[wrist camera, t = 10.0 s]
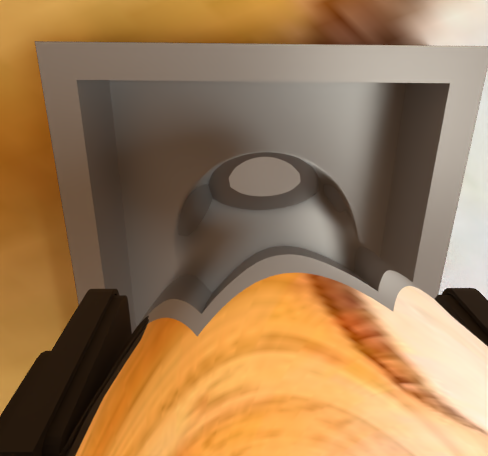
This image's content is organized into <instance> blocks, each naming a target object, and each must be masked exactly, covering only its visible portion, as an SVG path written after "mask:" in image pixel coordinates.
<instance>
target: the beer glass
mask: <svg viewBox="0 0 488 456" xmlns="http://www.w3.org/2000/svg"><path fill="white" fill-rule="evenodd" d="M174 253H175V261H176V269H175V271H174V273H173V274H172V276H171V277H170V279H169V281H168V282H167V284H166V285H165V287H164V288H163V290H162V291H161V292H160V294H159V295H158V297H157V298H156V300H155V301H154V302H153V304H152V305H151V307H150V308H149V309H148V311H147V312H146V314H145V315H144V317H143V318H142V320H141V321H140V323H139V324H138V326H137V327H136V329H135V330H134V332H133V333H132V335H131V336H130V338H129V339H128V340H127V342H126V343H125V345H124V346H123V348H122V349H121V351H120V352H119V354H118V355H117V357H116V358H115V360H114V361H113V363H112V365H111V366H110V368H109V370H108V371H107V373H106V375H105V376H104V378H103V380H102V382H101V383H100V385H99V387H98V388H97V390H96V392H95V393H94V395H93V397H92V399H91V400H90V402H89V404H88V405H87V407H86V409H85V411H84V412H83V414H82V416H81V417H80V419H79V421H78V423H77V424H76V426H75V428H74V429H73V431H72V433H71V435H70V436H69V438H68V440H67V441H66V443H65V445H64V447H63V449H62V451H61V453H60V455H59V456H488V344H487V343H485V342H484V341H483V340H482V339H481V338H480V337H479V336H477V335H476V334H475V333H474V332H473V331H472V330H471V329H470V328H468V327H467V326H466V325H465V324H464V323H463V322H462V321H461V320H459V319H458V318H457V317H456V316H455V315H454V314H452V313H451V312H450V311H449V310H447V309H446V308H445V307H444V306H442V305H441V304H440V303H438V302H437V301H436V300H435V299H433V298H432V297H431V296H429V295H428V294H427V293H426V292H424V291H423V290H422V289H421V288H419V287H418V286H417V285H415V284H414V283H413V282H412V281H410V280H409V279H408V278H406V277H405V276H404V275H403V274H401V273H400V272H399V271H397V270H396V269H395V268H393V267H392V266H391V265H389V264H388V263H387V262H385V261H384V260H383V259H381V258H380V257H379V256H377V255H376V254H375V253H373V252H372V251H371V250H370V249H369V248H367V247H366V246H365V245H364V244H363V243H361V242H360V240H359V238H358V232H357V227H356V223H355V219H354V215H353V212H352V209H351V207H350V204H349V202H348V200H347V198H346V196H345V194H344V192H343V191H342V189H341V187H340V186H339V185H338V183H337V182H336V181H335V180H334V179H333V178H332V177H331V176H330V175H329V174H328V173H327V172H326V171H325V170H323V169H322V168H321V167H319V166H318V165H316V164H314V163H312V162H311V161H309V160H306V159H304V158H302V157H299V156H296V155H292V154H289V153H283V152H276V151H257V152H250V153H245V154H241V155H237V156H234V157H232V158H229V159H227V160H225V161H223V162H221V163H219V164H217V165H215V166H214V167H212V168H211V169H209V170H208V171H207V172H205V173H204V174H203V175H202V176H201V177H200V178H199V179H198V180H197V181H196V182H195V183H194V184H193V185H192V186H191V188H190V189H189V190H188V192H187V193H186V195H185V197H184V199H183V201H182V203H181V205H180V207H179V210H178V213H177V217H176V221H175V227H174Z"/></svg>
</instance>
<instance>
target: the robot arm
mask: <svg viewBox="0 0 488 456" xmlns="http://www.w3.org/2000/svg"><path fill="white" fill-rule="evenodd" d="M435 300H436V301H437V302H438V303H440V304H441V305H442V306H444V307H445V308H446V309H447V310H449V311H450V312H451V313H452V314H454V315H455V316H456V317H457V318H458V319H459V320H461V321H462V322H463V323H464V324H465V325H466V326H467V327H468V328H470V329H471V330H472V331H473V332H474V333H475V334H476V335H477V336H479V337H480V338H481V339H482V340H483V341H484V342H485V343H487V344H488V300H487V299H486V298H485V297H484V296H483V295H482V294H481V293H480V292H479V291H478V290H476V289H474V288H447V289H445V290H444V291H443V293H442V295H437V296H436V298H435ZM131 335H132V330H131V321H130V312H129V304H128V298H127V296H126V295H119V292H118V290H117V289H89V290H88V291H87V293H86V294H85V296H84V298H83V299H82V301H81V303H80V304H79V306H78V308H77V309H76V311H75V313H74V314H73V316H72V318H71V319H70V321H69V323H68V324H67V326H66V328H65V329H64V331H63V332H62V334H61V336H60V337H59V339H58V341H57V342H56V344H55V346H54V347H53V349H52V351H45V352H43V353H41V354H40V355H39V357H38V358H37V359H36V361H35V362H34V364H33V365H32V367H31V369H30V370H29V372H28V373H27V375H26V376H25V378H24V380H23V381H22V383H21V384H20V386H19V387H18V389H17V391H16V392H15V394H14V395H13V397H12V398H11V400H10V402H9V403H8V405H7V406H6V408H5V409H4V411H3V413H2V414H1V416H0V456H59V455H60V453H61V451H62V449H63V447H64V445H65V443H66V441H67V440H68V438H69V436H70V435H71V433H72V431H73V429H74V428H75V426H76V424H77V423H78V421H79V419H80V417H81V416H82V414H83V412H84V411H85V409H86V407H87V405H88V404H89V402H90V400H91V399H92V397H93V395H94V393H95V392H96V390H97V388H98V387H99V385H100V383H101V382H102V380H103V378H104V376H105V375H106V373H107V371H108V370H109V368H110V366H111V365H112V363H113V361H114V360H115V358H116V357H117V355H118V354H119V352H120V351H121V349H122V348H123V346H124V345H125V343H126V342H127V340H128V339H129V338H130V336H131Z"/></svg>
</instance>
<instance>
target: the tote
mask: <svg viewBox="0 0 488 456" xmlns="http://www.w3.org/2000/svg"><path fill="white" fill-rule="evenodd" d="M35 45H36V51H37V57H38V63H39V69H40V75H41V81H42V87H43V93H44V99H45V105H46V111H47V117H48V123H49V129H50V135H51V141H52V147H53V153H54V159H55V165H56V171H57V177H58V183H59V189H60V195H61V201H62V207H63V213H64V219H65V225H66V231H67V237H68V243H69V249H70V255H71V261H72V267H73V273H74V279H75V285H76V291H77V297H78V303H79V304H80V303H81V301H82V299H83V298H84V296H85V294H86V293H87V291H88V290H89V289H117V290H118V292H119V295H126V296H127V298H128V304H129V312H130V321H131V330H132V333H133V332H134V330H135V329H136V327H137V326H138V324H139V323H140V321H141V320H142V318H143V317H144V315H145V314H146V312H147V311H148V309H149V308H150V307H151V305H152V304H153V302H154V301H155V300H156V298H157V297H158V295H159V294H160V292H161V291H162V290H163V288H164V287H165V285H166V284H167V282H168V281H169V279H170V277H171V276H172V274H173V273H174V271H175V269H176V261H175V253H174V227H175V221H176V217H177V213H178V210H179V207H180V205H181V203H182V201H183V199H184V197H185V195H186V193H187V192H188V190H189V189H190V188H191V186H192V185H193V184H194V183H195V182H196V181H197V180H198V179H199V178H200V177H201V176H202V175H203V174H204V173H205V172H207V171H208V170H209V169H211V168H212V167H214V166H215V165H217V164H219V163H221V162H223V161H225V160H227V159H229V158H232V157H234V156H237V155H241V154H245V153H250V152H257V151H276V152H283V153H289V154H292V155H296V156H299V157H302V158H304V159H306V160H309V161H311V162H312V163H314V164H316V165H318V166H319V167H321V168H322V169H323V170H325V171H326V172H327V173H328V174H329V175H330V176H331V177H332V178H333V179H334V180H335V181H336V182H337V183H338V185H339V186H340V187H341V189H342V191H343V192H344V194H345V196H346V198H347V200H348V202H349V204H350V207H351V209H352V212H353V215H354V219H355V223H356V227H357V232H358V238H359V240H360V242H361V243H363V244H364V245H365V246H366V247H367V248H369V249H370V250H371V251H372V252H373V253H375V254H376V255H377V256H379V257H380V258H381V259H383V260H384V261H385V262H387V263H388V264H389V265H391V266H392V267H393V268H395V269H396V270H397V271H399V272H400V273H401V274H403V275H404V276H405V277H406V278H408V279H409V280H410V281H412V282H413V283H414V284H415V285H417V286H418V287H419V288H421V289H422V290H423V291H424V292H426V293H427V294H428V295H429V296H431V297H432V298H433V299H435V298H436V296H437V295H438V292H439V288H440V283H441V279H442V274H443V270H444V265H445V260H446V256H447V251H448V247H449V242H450V237H451V233H452V228H453V224H454V219H455V214H456V210H457V205H458V201H459V196H460V192H461V187H462V182H463V178H464V173H465V169H466V164H467V159H468V155H469V150H470V146H471V141H472V137H473V132H474V127H475V123H476V118H477V114H478V109H479V104H480V100H481V95H482V91H483V86H484V82H485V77H486V72H487V68H488V46H415V45H321V44H226V43H132V42H38V41H35Z"/></svg>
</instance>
